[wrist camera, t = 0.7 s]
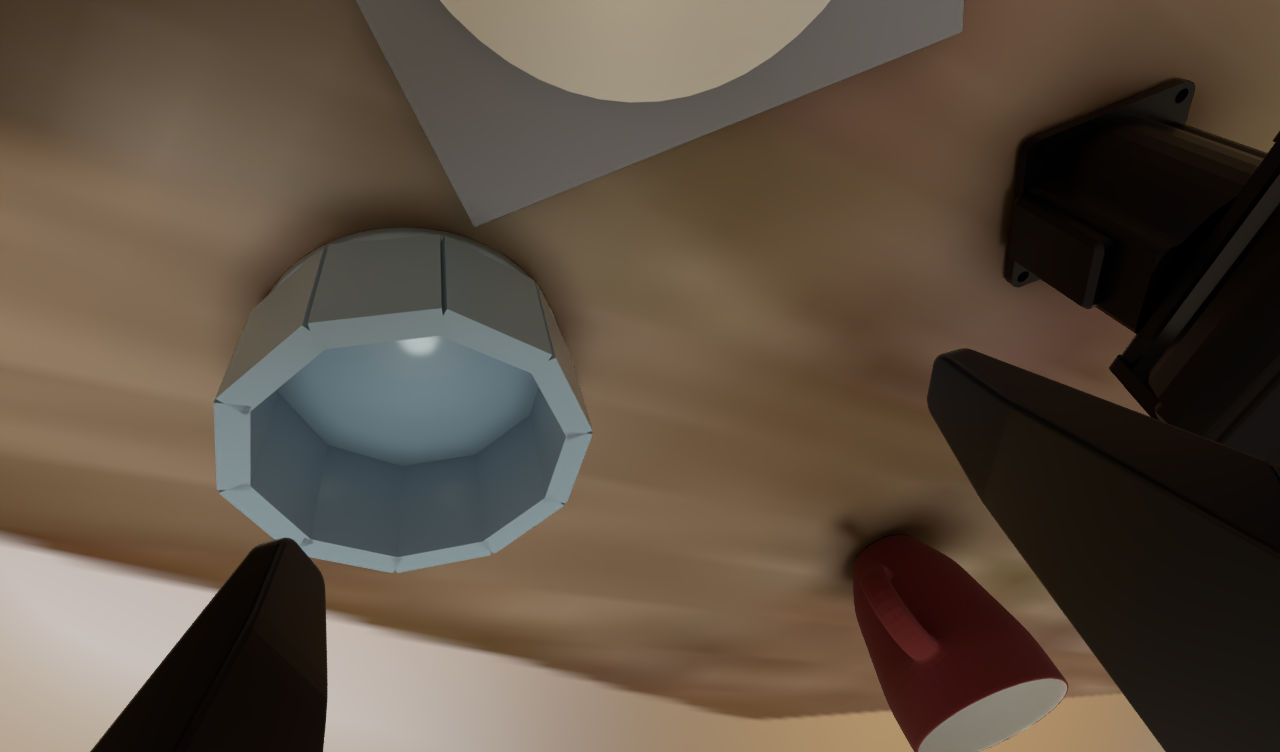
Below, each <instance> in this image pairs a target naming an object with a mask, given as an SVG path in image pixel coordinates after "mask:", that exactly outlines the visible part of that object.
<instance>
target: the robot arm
mask: <svg viewBox="0 0 1280 752" xmlns="http://www.w3.org/2000/svg"><path fill="white" fill-rule="evenodd" d="M1194 91H1195V84H1194V82H1192V81H1189V80H1185V79H1182V78H1178V79H1174V80H1172V81H1169V82H1167V83H1164V84H1162V85H1159V86H1157V87H1154V88H1152V89H1149V90H1147V91H1144V92H1142V93H1139V94H1137V95H1134V96H1132V97H1129V98H1127V99H1124V100H1122V101H1120V102H1117V103H1115V104H1112V105H1110V106H1107V107H1105V108H1102V109H1100V110H1097V111H1095V112H1092V113H1090V114H1087V115H1085V116H1082V117H1080V118H1077V119H1075V120H1072V121H1070V122H1067V123H1065V124H1062V125H1060V126H1057V127H1055V128H1052V129H1050V130H1047V131H1045V132H1042V133H1040V134H1037V135H1035V136H1033V137H1031V138H1029V139H1028V140H1027V141H1026V142H1025V143H1024V144H1023V146H1022V147H1021V149H1020V153H1019V159H1018V168H1017V177H1016V186H1015V195H1014V204H1013V213H1012V222H1011V230H1010V239H1009V248H1008V257H1007V266H1006V275H1005V278H1006V281H1007V282H1009V283H1010V284H1011V285H1013V286H1014V287H1021V286H1024V285H1026V284H1029V283H1031V282H1034V281H1036V280H1039V279H1042V280H1043V281H1045V282H1046V283H1048V284H1049V285H1051V286H1052V287H1053V288H1055V289H1056V290H1058V291H1059V292H1061V293H1062V294H1064V295H1065V296H1067V297H1068V298H1070V299H1071V300H1073V301H1074V302H1076V303H1077V304H1079V305H1080V306H1082V307H1084V308H1086V309H1090V308H1093V307H1097V308H1098V309H1100V310H1101V311H1103V312H1104V313H1106V314H1107V315H1109V316H1110V317H1112V318H1113V319H1115V320H1116V321H1118V322H1119V323H1121V324H1122V325H1124V326H1125V327H1127V328H1128V329H1130V330H1131V331H1133V332H1134V333H1136V336H1135V337H1134V339H1133V340H1132V341H1131V343H1130V344H1129V345H1128V347H1127V348H1126V350H1125V351H1124V352H1123V354H1122V355H1118V356H1117V357H1116V359H1115V360H1114V361H1113V363H1112V364H1111V366H1110V367H1109V369H1110V370H1111V372H1112V373H1113V374H1114V375H1115V376H1116V377H1117V378H1118V380H1119V381H1120V382H1121V383H1122V384H1123V385H1124V387H1125V388H1126V389H1127V390H1128V392H1129V393H1130V394H1131V395H1132V396H1133V397H1134V398H1135V399H1136V401H1137V402H1138V403H1139V404H1140V405H1141V406H1142V407H1143V409H1144V410H1145V411H1146V412H1147V413H1148V414H1149V415H1150V417H1149V416H1146V415H1144V414H1141V413H1138V412H1136V411H1133V410H1130V409H1128V408H1125V407H1122V406H1120V405H1117V404H1114V403H1112V402H1109V401H1106V400H1104V399H1101V398H1098V397H1096V396H1093V395H1091V394H1088V393H1085V392H1083V391H1080V390H1077V389H1075V388H1072V387H1069V386H1067V385H1064V384H1061V383H1059V382H1056V381H1053V380H1051V379H1048V378H1045V377H1043V376H1040V375H1038V374H1035V373H1032V372H1030V371H1027V370H1024V369H1022V368H1019V367H1016V366H1014V365H1011V364H1008V363H1006V362H1003V361H1000V360H998V359H995V358H992V357H990V356H987V355H984V354H982V353H979V352H977V351H974V350H971V349H966V348H963V349H958V350H954V351H951V352H947V353H944V354H941V355H939V356H938V357H937V358H936V359H935V361H934V364H933V369H932V374H931V379H930V384H929V390H928V395H927V403H928V408H929V411H930V413H931V415H932V417H933V418H934V420H935V422H936V424H937V425H938V427H939V429H940V431H941V432H942V434H943V436H944V437H945V439H946V441H947V443H948V444H949V446H950V448H951V450H952V451H953V453H954V455H955V457H956V458H957V460H958V462H959V463H960V465H961V467H962V469H963V470H964V472H965V474H966V476H967V477H968V479H969V481H970V482H971V484H972V486H973V488H974V489H975V491H976V492H977V494H978V496H979V497H980V499H981V500H982V502H983V503H984V505H985V506H986V508H987V509H988V510H989V512H990V513H991V515H992V516H993V517H994V519H995V520H996V522H997V523H998V524H999V526H1000V527H1001V528H1002V530H1003V531H1004V532H1005V534H1006V535H1007V537H1008V538H1009V539H1010V541H1011V542H1012V543H1013V545H1014V546H1015V547H1016V549H1017V550H1018V552H1019V553H1020V554H1021V556H1022V557H1023V558H1024V560H1025V561H1026V562H1027V564H1028V565H1029V566H1030V568H1031V569H1032V571H1033V572H1034V573H1035V575H1036V576H1037V577H1038V579H1039V580H1040V581H1041V583H1042V584H1043V586H1044V587H1045V588H1046V590H1047V591H1048V592H1049V594H1050V595H1051V596H1052V598H1053V599H1054V601H1055V602H1056V603H1057V605H1058V606H1059V607H1060V609H1061V610H1062V611H1063V613H1064V614H1065V615H1066V617H1067V618H1068V620H1069V621H1070V622H1071V624H1072V625H1073V626H1074V628H1075V629H1076V630H1077V632H1078V633H1079V635H1080V636H1081V637H1082V639H1083V640H1084V641H1085V643H1086V644H1087V645H1088V647H1089V648H1090V650H1091V651H1092V652H1093V654H1094V655H1095V656H1096V658H1097V659H1098V660H1099V662H1100V663H1101V665H1102V666H1103V667H1104V669H1105V670H1106V671H1107V673H1108V674H1109V675H1110V677H1111V678H1112V679H1113V681H1114V682H1115V684H1116V685H1117V686H1118V688H1119V689H1120V690H1121V692H1122V693H1123V694H1124V696H1125V697H1126V698H1127V700H1128V701H1129V703H1130V704H1131V705H1132V707H1133V708H1134V709H1135V711H1136V712H1137V713H1138V715H1139V716H1140V718H1141V719H1142V720H1143V721H1144V723H1145V724H1146V726H1147V727H1148V728H1149V730H1150V731H1151V732H1152V734H1153V735H1154V736H1155V738H1156V739H1157V741H1158V742H1159V743H1160V745H1161V746H1162V748H1163V749H1164V750H1165V751H1166V752H1280V131H1279V133H1278V134H1277V135H1276V137H1275V138H1274V139H1273V141H1274V142H1276V143H1275V144H1274V145H1273V147H1272V148H1271V150H1270V151H1269V152H1268V153H1266V152H1263V151H1260V150H1257V149H1254V148H1251V147H1248V146H1245V145H1242V144H1239V143H1237V142H1234V141H1231V140H1228V139H1225V138H1222V137H1219V136H1216V135H1213V134H1210V133H1207V132H1205V131H1202V130H1199V129H1196V128H1193V127H1190V126H1187V125H1185V123H1186V119H1187V116H1188V112H1189V109H1190V105H1191V102H1192V98H1193V95H1194ZM1037 148H1038V149H1037ZM1036 149H1037V151H1036V152H1035V150H1036ZM1034 152H1035V153H1034ZM326 710H327V645H326V601H325V583H324V579H323V576H322V574H321V572H320V570H319V569H318V568H317V566H316V565H315V564H314V563H313V562H312V560H311V559H310V558H309V557H308V556H307V554H306V553H305V552H304V551H303V550H302V548H301V547H300V546H299V545H298V544H297V543H296V542H295V541H294V540H293V539H291V538H281V539H277V540H274V541H270V542H266V543H263V544H260V545H258V546H256V547H255V548H253V549H252V550H251V551H250V552H249V554H248V555H247V556H246V557H245V559H244V560H243V561H242V562H241V564H240V565H239V566H238V567H237V569H236V570H235V571H234V572H233V574H232V575H231V576H230V577H229V579H228V580H227V581H226V582H225V584H224V585H223V586H222V587H221V589H220V590H219V591H218V592H217V594H216V595H215V596H214V597H213V599H212V600H211V601H210V603H209V604H208V605H207V606H206V607H205V609H204V610H203V611H202V613H201V614H200V615H199V616H198V618H197V619H196V620H195V621H194V623H193V624H192V625H191V627H190V628H189V629H188V630H187V631H186V633H185V634H184V635H183V636H182V638H181V639H180V640H179V641H178V643H177V644H176V645H175V646H174V648H173V649H172V650H171V651H170V653H169V654H168V655H167V656H166V658H165V659H164V660H163V661H162V663H161V664H160V665H159V667H158V668H157V669H156V670H155V671H154V673H153V674H152V675H151V676H150V678H149V679H148V680H147V681H146V683H145V684H144V685H143V686H142V688H141V689H140V690H139V691H138V693H137V694H136V695H135V696H134V698H133V699H132V700H131V701H130V703H129V704H128V705H127V707H126V708H125V709H124V710H123V711H122V713H121V714H120V715H119V716H118V718H117V719H116V720H115V721H114V723H113V724H112V725H111V727H110V728H109V729H108V730H107V731H106V733H105V734H104V735H103V736H102V738H101V739H100V740H99V742H98V743H97V744H96V745H95V746H94V748H93V749H92V750H91V751H90V752H323V744H324V734H325V723H326Z"/></svg>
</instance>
